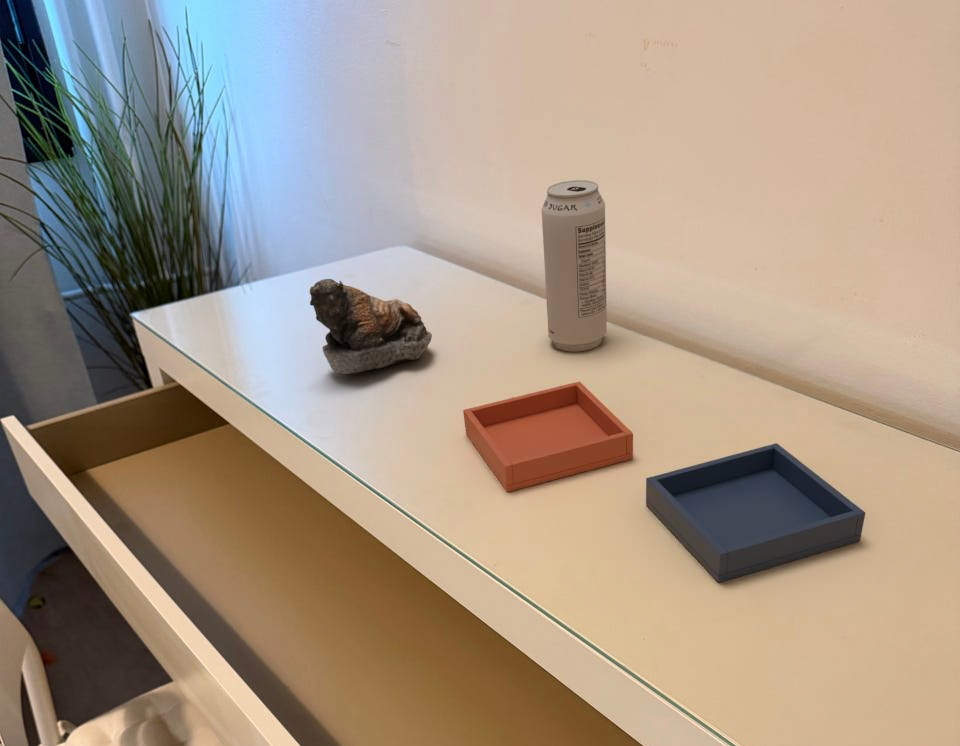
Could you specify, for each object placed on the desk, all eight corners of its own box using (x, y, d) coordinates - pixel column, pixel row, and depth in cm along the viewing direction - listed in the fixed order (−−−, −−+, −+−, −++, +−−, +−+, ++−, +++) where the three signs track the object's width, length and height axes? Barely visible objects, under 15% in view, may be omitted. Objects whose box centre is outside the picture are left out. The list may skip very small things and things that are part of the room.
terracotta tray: (580, 405, 86) (579, 380, 84) (633, 459, 77) (633, 433, 76) (465, 434, 84) (462, 409, 82) (507, 492, 76) (504, 466, 74)
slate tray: (773, 469, 74) (776, 442, 72) (860, 541, 66) (866, 512, 64) (645, 504, 72) (645, 477, 70) (718, 583, 64) (720, 554, 62)
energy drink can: (574, 325, 100) (568, 175, 90) (618, 337, 97) (617, 182, 87) (537, 345, 97) (527, 192, 87) (581, 358, 94) (576, 200, 84)
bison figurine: (415, 340, 101) (401, 245, 95) (448, 360, 97) (435, 261, 90) (316, 374, 97) (294, 277, 91) (344, 396, 92) (323, 295, 86)
